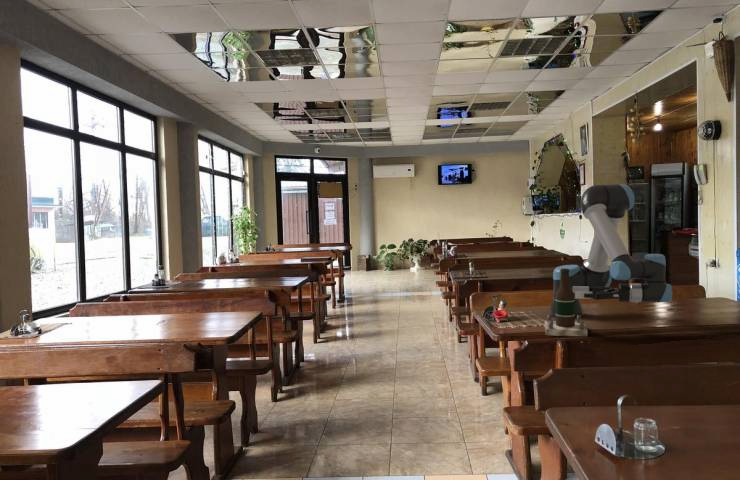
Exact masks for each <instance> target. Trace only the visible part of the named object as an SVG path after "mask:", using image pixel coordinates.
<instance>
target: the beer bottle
mask: <svg viewBox="0 0 740 480" xmlns="http://www.w3.org/2000/svg"><path fill="white" fill-rule="evenodd" d="M560 272H561V278H560V288H559V289H558V291H557V293H556V296H555V320H554V321H556V325H557V326H559V327H573V326H574V325H575V322H576V318H575V296H574V293H573V291H572V290H571V288H570V282H569V269H566V268H563V269H560Z"/></svg>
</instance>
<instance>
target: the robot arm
mask: <svg viewBox="0 0 740 480" xmlns="http://www.w3.org/2000/svg"><path fill="white" fill-rule="evenodd" d="M579 205H580V210H581V212H582V215H583V216H584V218H585V219H586V220H588V221H589V223H590V225H591V226H592V229H593V230H594V235H593V238H592V242H591V246H590V250H589V253H588V258H587V259H585V260H584V261H583V264H582V266H579V265H577V264H565V265H559V266H556V267H555V268H554V269H553V273H552V280H553V283H552V284H553V286H552V287H553V291H552V293H553V299H552V301H551V305H550V308H549V315H551V317H555V296H556V293H557V291H558V289H559V288H560V278H561V272H560V269H563V268H566V269H569V282H570V288H571V290H572V291H573V293H574V296H575V319H577V315H580V316H581V318H582V317H584V309H583V306H582V304H581V300H580V299H583V300H586V299H587V300H588V299H589V300H592V299H593V300H594V301H598V300H599V301H600V300H614V299H616V300H617V299H618V302H619V303H629V302H631V303H635V304H638V303H658V304H661V303H671V301H672V300H673V299H672V298H673V289H672V288H673V287H672V285H671V284H669V283H668V282H666V268H667V267H666V266H667V264H666V263H667V261H666V256H665V255H664V254H662V253H661V254H660V253H647V254H645V255H644V257H643V258H644V259H635V260H634V259H633V258H632V256H631V254H630V253H629V251H628V249H627V247H626V246H625V244H624V242H623V240H622V238H621V237H620V235H619V233H618V231H617V229H618V226H619V224H620V220H621V219H623V218H624V217H625V215H626V212H627V211H630V210H632V209H633V207H634V205H635V194H634V191H633V190H632V188H631V187H630V186H629V185H627V184H624V183H623V184H620V183H615V184H593V185H591V186H589V187H587V188H586V189H585V191H584V192H583V193H582V195H581V198H580V204H579ZM609 260H610V262H611V263H610V266H609V264H608V261H609ZM613 279H614V280H616V281H628V280H641V279H642V280H644V283H640V282H639V283H638V282H637V283H635V282H633V283H632V282H631V283H629V284H628V283H618V284H617V288H615V287H614V286H611V283H612V280H613Z"/></svg>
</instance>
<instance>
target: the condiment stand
mask: <svg viewBox="0 0 740 480" xmlns="http://www.w3.org/2000/svg"><path fill="white" fill-rule="evenodd" d="M544 331H545V335H546V336H557V337H559V336H562V337H588V329H587V326H586V324H585V323H584V321H582V317H581V316H580V315H577V318H576V321H575V325H574V326H573V327H559V326H557V325H556V320H553V319H552V316H551V315H550V314H547V320H544Z"/></svg>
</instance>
